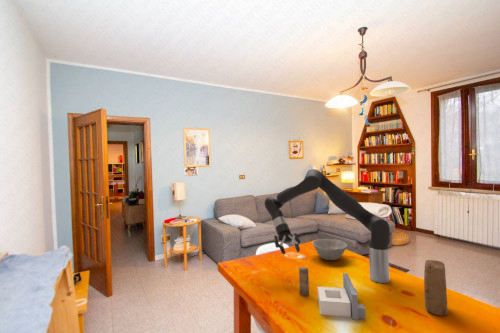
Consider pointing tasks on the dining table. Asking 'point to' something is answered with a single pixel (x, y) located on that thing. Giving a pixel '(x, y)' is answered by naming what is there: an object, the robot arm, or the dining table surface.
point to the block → (435, 287)
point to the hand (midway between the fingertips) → (291, 252)
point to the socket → (334, 301)
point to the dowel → (304, 281)
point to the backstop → (353, 298)
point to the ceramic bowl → (329, 248)
